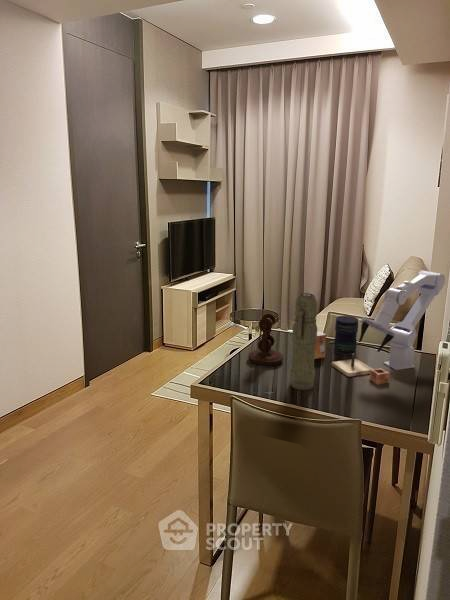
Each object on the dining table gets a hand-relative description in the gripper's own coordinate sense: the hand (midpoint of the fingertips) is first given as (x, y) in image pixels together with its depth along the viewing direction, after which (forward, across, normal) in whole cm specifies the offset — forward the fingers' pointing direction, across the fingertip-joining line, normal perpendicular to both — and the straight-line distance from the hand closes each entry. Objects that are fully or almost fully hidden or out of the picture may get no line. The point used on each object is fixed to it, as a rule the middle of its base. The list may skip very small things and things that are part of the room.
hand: (369, 346), depth 179 cm
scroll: (+23, -33, +16) cm, 43 cm away
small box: (+10, -17, +23) cm, 31 cm away
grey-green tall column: (+26, -15, -3) cm, 30 cm away
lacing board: (+8, -1, +14) cm, 16 cm away
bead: (+9, +9, +6) cm, 14 cm away
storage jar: (-1, -7, +32) cm, 33 cm away
